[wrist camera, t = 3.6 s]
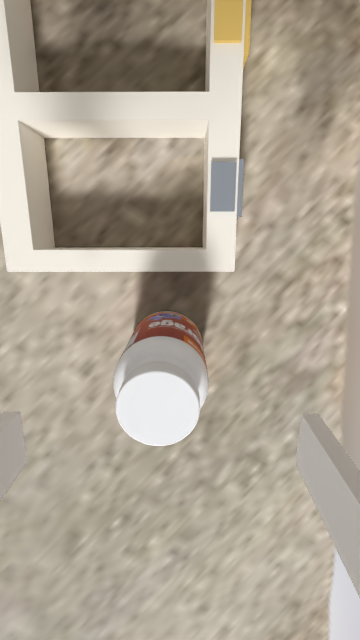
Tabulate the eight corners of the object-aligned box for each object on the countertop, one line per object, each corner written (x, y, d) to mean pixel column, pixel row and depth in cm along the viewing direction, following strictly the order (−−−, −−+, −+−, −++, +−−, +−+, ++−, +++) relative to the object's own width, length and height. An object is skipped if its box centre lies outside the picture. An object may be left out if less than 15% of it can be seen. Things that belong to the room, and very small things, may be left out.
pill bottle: (214, 329, 28) (236, 388, 17) (182, 386, 29) (182, 474, 19) (150, 296, 27) (130, 337, 16) (120, 357, 29) (83, 431, 18)
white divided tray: (32, 266, 26) (5, 272, 22) (-5, -48, 21) (-51, -117, 17) (231, 266, 26) (240, 272, 22) (244, -49, 21) (259, -118, 17)
